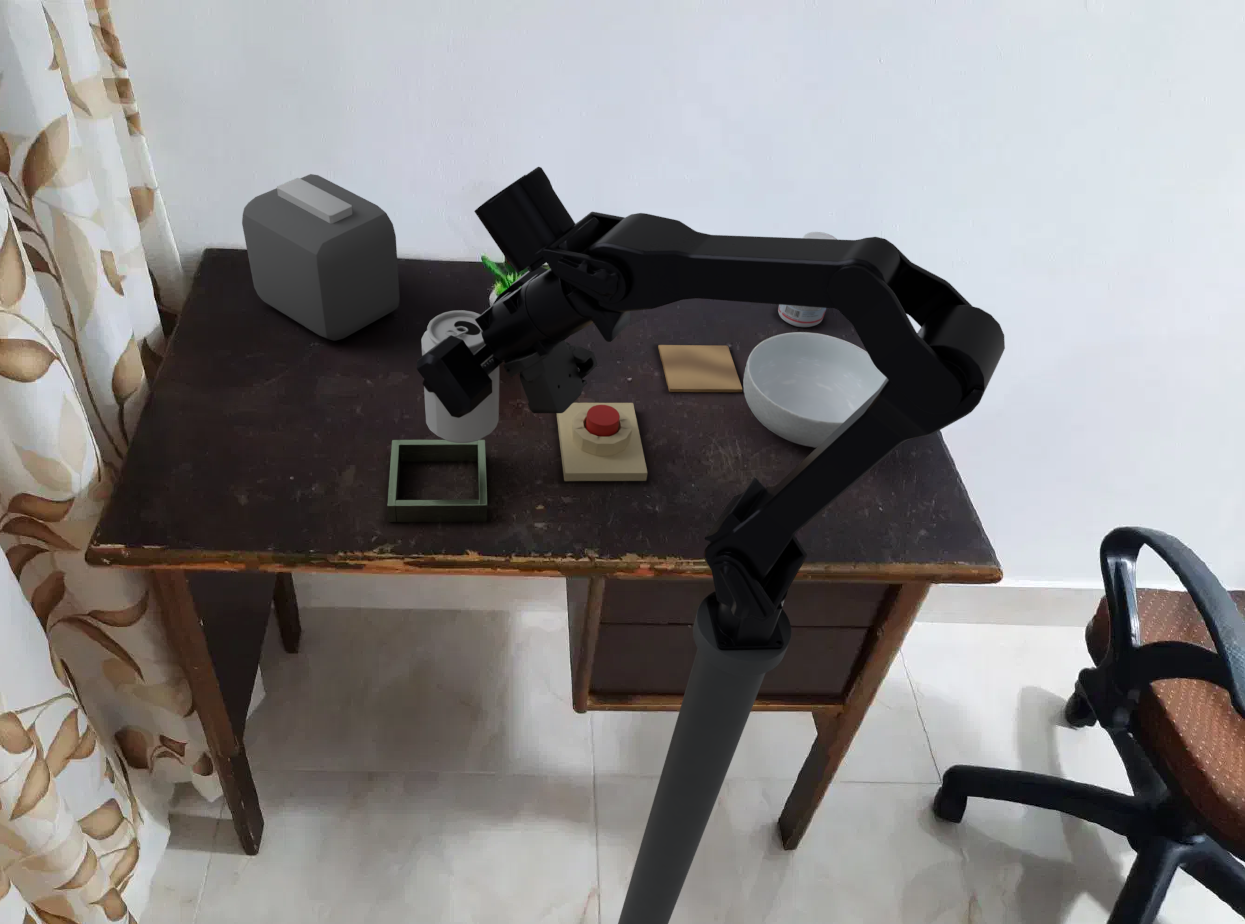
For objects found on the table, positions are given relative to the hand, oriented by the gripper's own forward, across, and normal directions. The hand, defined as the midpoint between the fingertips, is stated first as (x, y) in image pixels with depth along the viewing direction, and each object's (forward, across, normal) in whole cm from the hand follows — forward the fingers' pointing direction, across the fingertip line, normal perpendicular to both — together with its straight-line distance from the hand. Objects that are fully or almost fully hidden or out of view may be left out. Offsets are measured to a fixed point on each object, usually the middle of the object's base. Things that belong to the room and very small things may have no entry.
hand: (449, 368), depth 94 cm
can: (+4, 0, -6) cm, 7 cm away
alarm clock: (+31, +15, +12) cm, 36 cm away
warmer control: (+2, +13, -18) cm, 22 cm away
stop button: (0, +13, -16) cm, 20 cm away
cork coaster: (-1, +32, -20) cm, 38 cm away
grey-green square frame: (+9, -4, -10) cm, 14 cm away
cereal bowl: (-11, +30, -31) cm, 44 cm away
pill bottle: (-5, +51, -24) cm, 57 cm away
